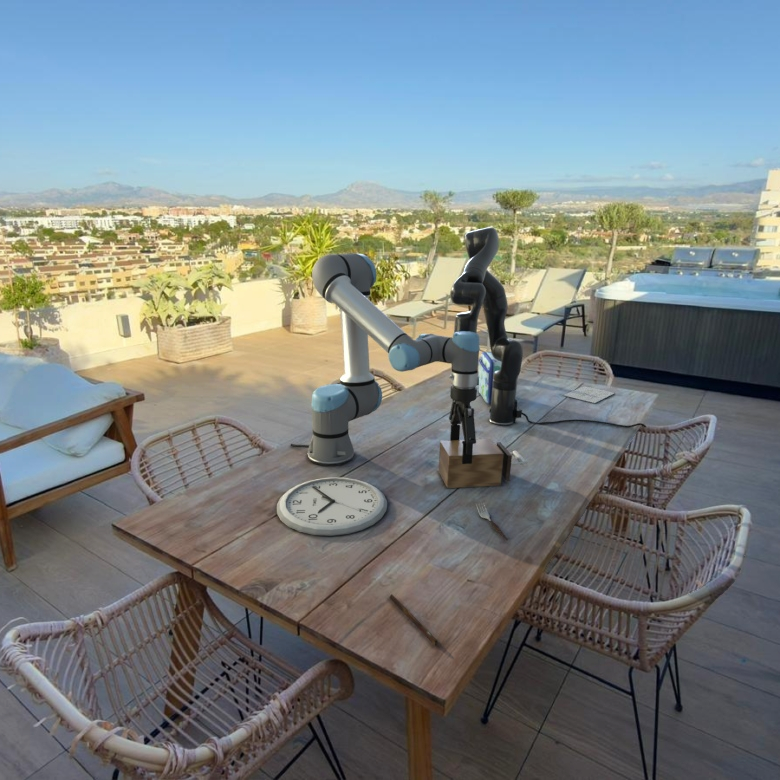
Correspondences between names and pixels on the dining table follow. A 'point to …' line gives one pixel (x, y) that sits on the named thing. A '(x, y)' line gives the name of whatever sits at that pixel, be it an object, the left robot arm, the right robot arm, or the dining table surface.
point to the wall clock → (331, 506)
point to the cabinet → (470, 475)
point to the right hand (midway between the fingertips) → (460, 395)
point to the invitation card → (589, 394)
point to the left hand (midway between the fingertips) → (460, 453)
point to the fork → (487, 516)
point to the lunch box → (487, 375)
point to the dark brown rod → (413, 619)
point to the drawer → (509, 461)
